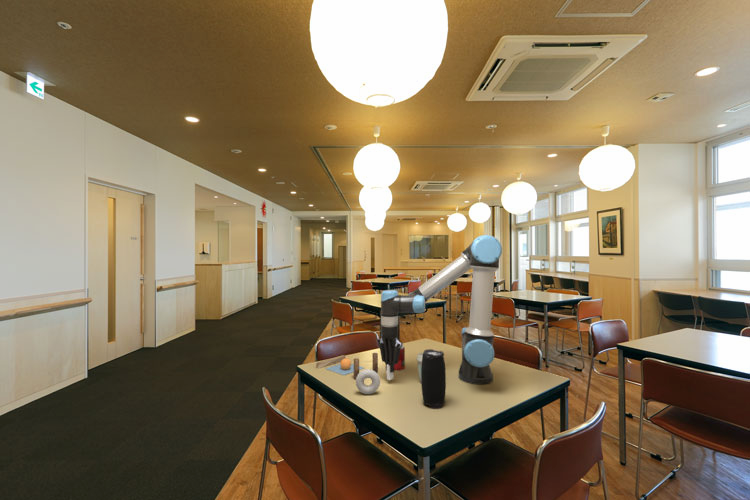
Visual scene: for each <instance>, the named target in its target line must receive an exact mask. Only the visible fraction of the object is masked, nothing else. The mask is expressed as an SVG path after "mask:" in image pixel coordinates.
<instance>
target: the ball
mask: <svg viewBox="0 0 750 500" xmlns="http://www.w3.org/2000/svg"><path fill="white" fill-rule="evenodd" d="M339 364H340V366H341V368H342V369H344V370H348V369H349V368H350V367H351V364H352V361H351V359H349V358H346V357H345V359H343V360H342V361H341V362H339Z"/></svg>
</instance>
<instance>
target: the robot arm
mask: <svg viewBox="0 0 750 500" xmlns="http://www.w3.org/2000/svg"><path fill="white" fill-rule="evenodd" d="M502 253H503V247H502V243H501V242H500V240H499V239H497V238H496V237H495V236H492V235H487V234H486V235H485V234H484V235H479V236H478V237H476V238H475V239H474V240H473V241H472V242H471V243H470V244H469V245H468V246H467V247H466V248H465V249H464V250H462V251H461V253H460V256H459V257H457V258H455V260H453V261H452V262H451V263H449V264H448V265H447V266H445V267H444V268H443V269H441V270H440V271H439V272H437V273H436V274H435V275H433V276H432V277H431V278H429V279H428V280H426V281H424V283H423V284H421V285H420V286H419V287H418V288H415V289H414V291H412V292H410V293H409V294H405V295H403V294H399V291H398V290H395V289H394V290H392V289H391V290H390V289H387V290H383V291H382V292H381V293H380V295H381V296H380V311H381V314H380V320H381V321H380V325H381V326H380V328H381V329H380V330H381V331H380V334H381V338H379V339H377V343H378V346H379V351H380V357H381V362H383V363H384V364H385V372H386V380H387V381H391V380H394V372H395V370H394V365H395V364H397V363H398V361H399V355H400V350H401V347H402V345H403V346H404V344H403V342H400V341H399V338H398V334H399V326H398V325H399V313H408V314H409V313H411V314H412V313H413V314H414V313H416V314H421V313H425V311H426V303H427V302H428V301H429V300H431V299H432V298H433V297H435V296H436V295H437V294H439V293H440V292H442V291H443V290H444V289H446V288H447V287H448V286H450V285H451V284H452V283H454V282H455V281H456V280H458V279H459V278H460V277H462V276H463V275H465V274H466V273H468V271H470V270H472V281H471V282H472V283H471V284H472V285H471V294H470V310H469V311H470V312H469V323H468V327H463V328H462V329H461V363H460V366H459V369H458V379H459V380H461V381H463V382H465V383H469V384H472V385H473V384H474V385H486V384H490V383H493V381H494V375H493V372H492V368H491V364H492V362H493V360H494V358H495V349H494V340H495V339H494V336H495V334H494V332H493V331H492V330H491V327H492V324H491V323H492V315H493V314H492V313H493V299H494V298H493V297H494V285H495V284H494V283H495V273H496V272H497V271H498V270H499V268H500V258H501V256H502Z"/></svg>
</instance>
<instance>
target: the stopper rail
mask: <svg viewBox="0 0 750 500" xmlns="http://www.w3.org/2000/svg"><path fill="white" fill-rule="evenodd" d="M345 358H346V355H339V356H336V357H331V358H328V359H325V360H321V361H317V362H316V364H315V365H316V366H315V368H316V369H321V368H325V367H330V366H332V365H335V364H340V363H341V361H342V360H343V359H345Z"/></svg>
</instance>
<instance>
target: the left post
mask: <svg viewBox="0 0 750 500" xmlns="http://www.w3.org/2000/svg"><path fill="white" fill-rule="evenodd" d="M353 364H354V372H353V380H355V381H356V377H357V375H358V374H359V373H360V370H359V366H360V358H358V357H357V358H353Z"/></svg>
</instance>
